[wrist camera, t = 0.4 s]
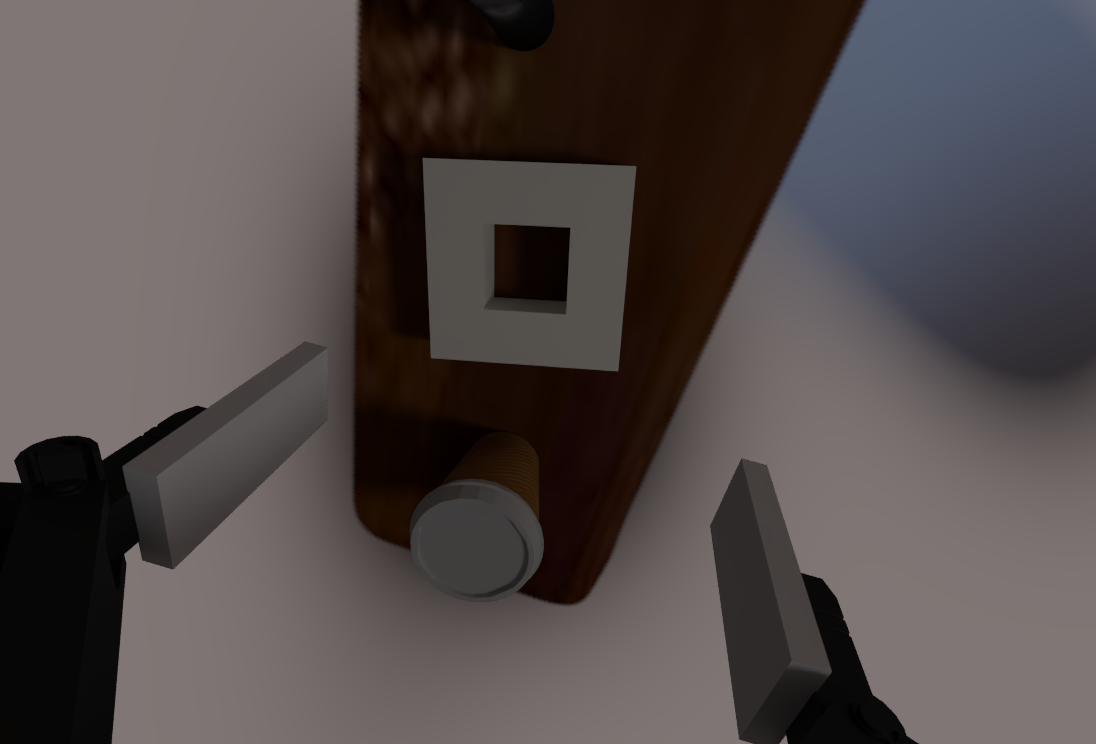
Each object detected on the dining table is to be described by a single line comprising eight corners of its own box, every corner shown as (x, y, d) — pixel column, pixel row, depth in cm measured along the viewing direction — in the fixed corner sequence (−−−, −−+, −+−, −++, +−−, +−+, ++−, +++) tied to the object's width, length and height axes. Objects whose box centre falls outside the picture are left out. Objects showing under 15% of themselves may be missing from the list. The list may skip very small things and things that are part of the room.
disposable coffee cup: (491, 393, 46) (453, 465, 34) (579, 458, 47) (570, 549, 36) (430, 467, 49) (378, 555, 38) (514, 527, 50) (487, 629, 39)
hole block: (440, 159, 40) (422, 157, 36) (633, 166, 38) (636, 166, 35) (446, 342, 44) (431, 358, 41) (617, 353, 43) (617, 371, 40)
